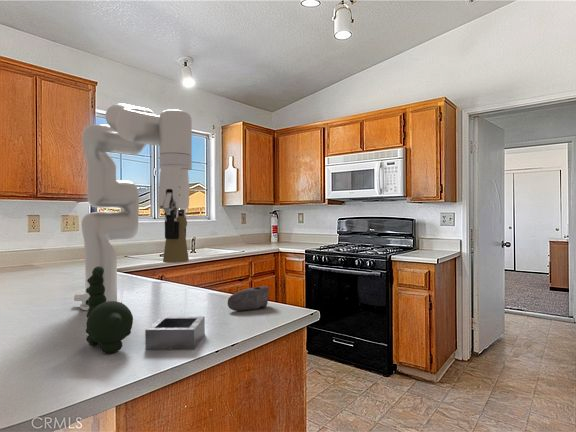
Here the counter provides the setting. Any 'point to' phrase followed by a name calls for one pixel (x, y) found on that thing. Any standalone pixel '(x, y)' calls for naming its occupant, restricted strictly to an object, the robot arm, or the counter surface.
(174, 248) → the cork
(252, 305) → the perforated stone tool
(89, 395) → the counter surface
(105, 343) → the toy figurine
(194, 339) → the metal open box
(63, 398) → the counter surface
